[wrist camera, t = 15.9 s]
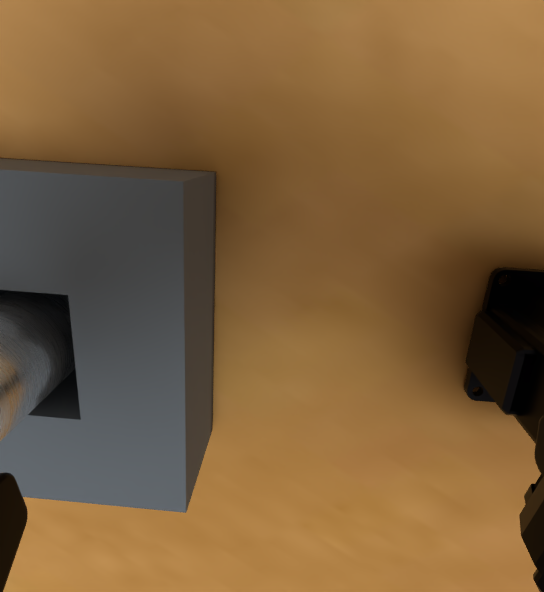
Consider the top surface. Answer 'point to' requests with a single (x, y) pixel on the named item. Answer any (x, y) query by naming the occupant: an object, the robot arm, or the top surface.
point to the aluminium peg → (32, 352)
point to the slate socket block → (115, 328)
